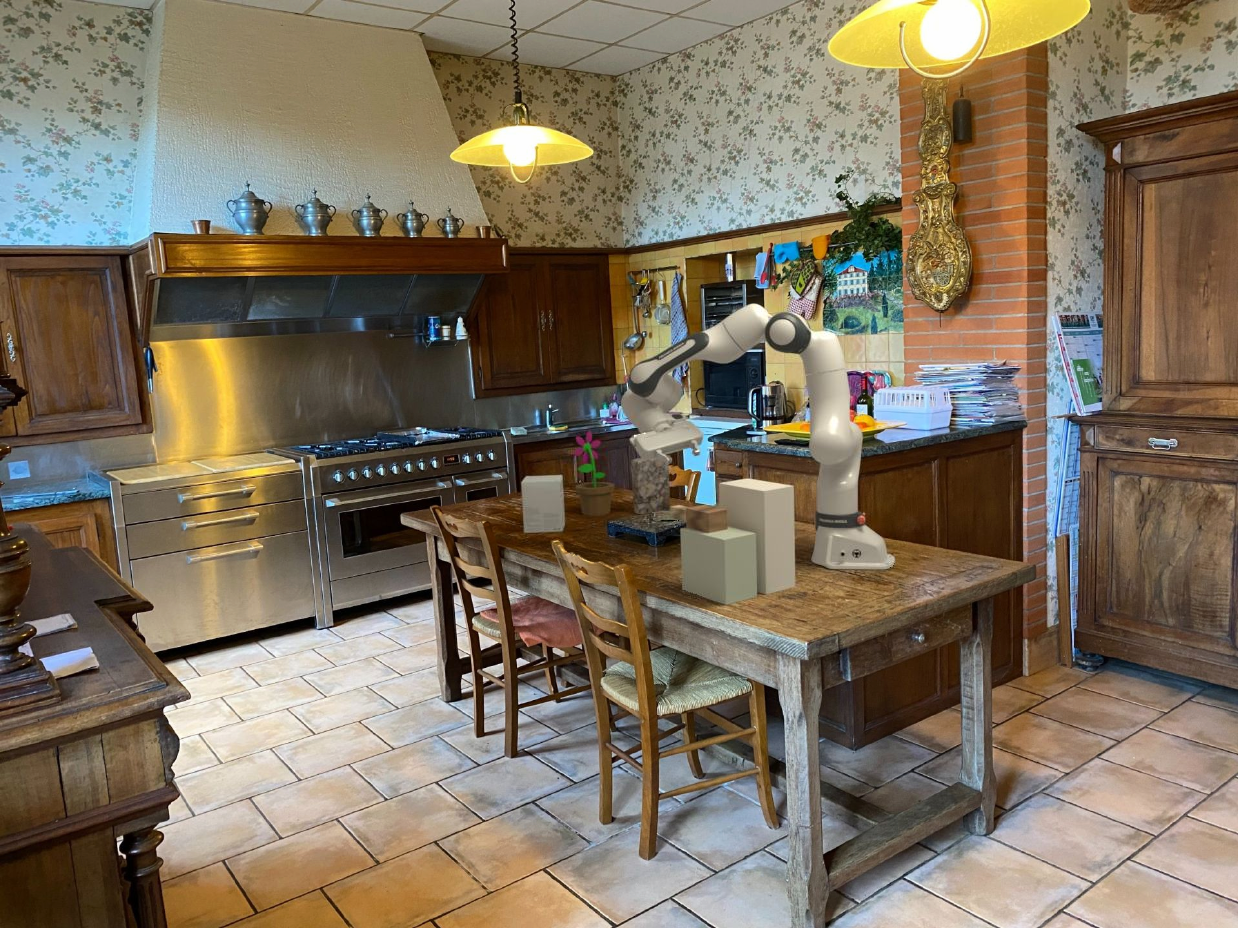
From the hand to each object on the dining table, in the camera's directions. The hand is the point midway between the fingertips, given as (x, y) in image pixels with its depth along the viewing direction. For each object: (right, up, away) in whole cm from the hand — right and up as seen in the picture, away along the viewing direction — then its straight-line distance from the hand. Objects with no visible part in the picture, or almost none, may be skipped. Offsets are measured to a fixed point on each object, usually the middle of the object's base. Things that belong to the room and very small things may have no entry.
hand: (684, 457), depth 252 cm
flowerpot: (-26, -20, +84) cm, 90 cm away
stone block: (-6, -19, +81) cm, 84 cm away
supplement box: (-43, -24, +61) cm, 79 cm away
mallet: (+2, -17, -19) cm, 25 cm away
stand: (+12, -33, -20) cm, 41 cm away
